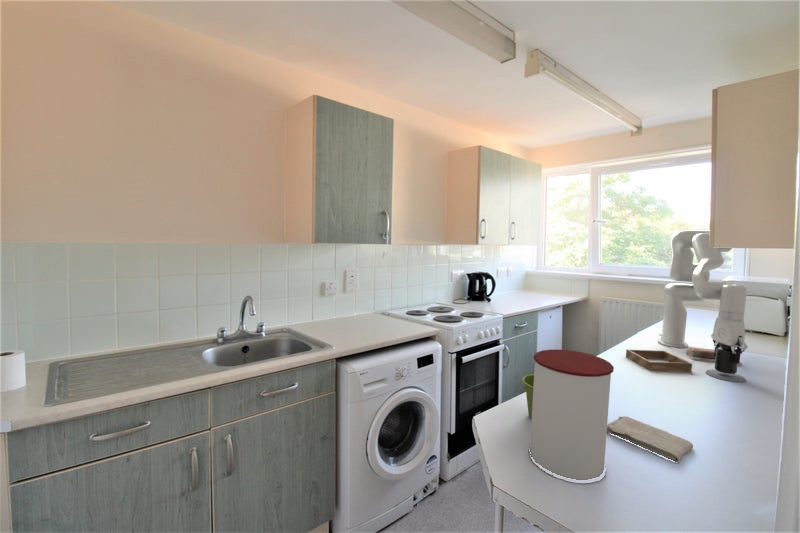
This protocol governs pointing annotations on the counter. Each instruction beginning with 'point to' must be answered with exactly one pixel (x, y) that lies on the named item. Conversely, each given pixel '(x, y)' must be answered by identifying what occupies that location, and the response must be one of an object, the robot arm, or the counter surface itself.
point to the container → (570, 413)
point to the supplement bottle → (724, 360)
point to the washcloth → (650, 438)
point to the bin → (671, 365)
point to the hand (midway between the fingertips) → (726, 359)
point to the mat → (725, 376)
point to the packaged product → (702, 354)
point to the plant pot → (529, 391)
